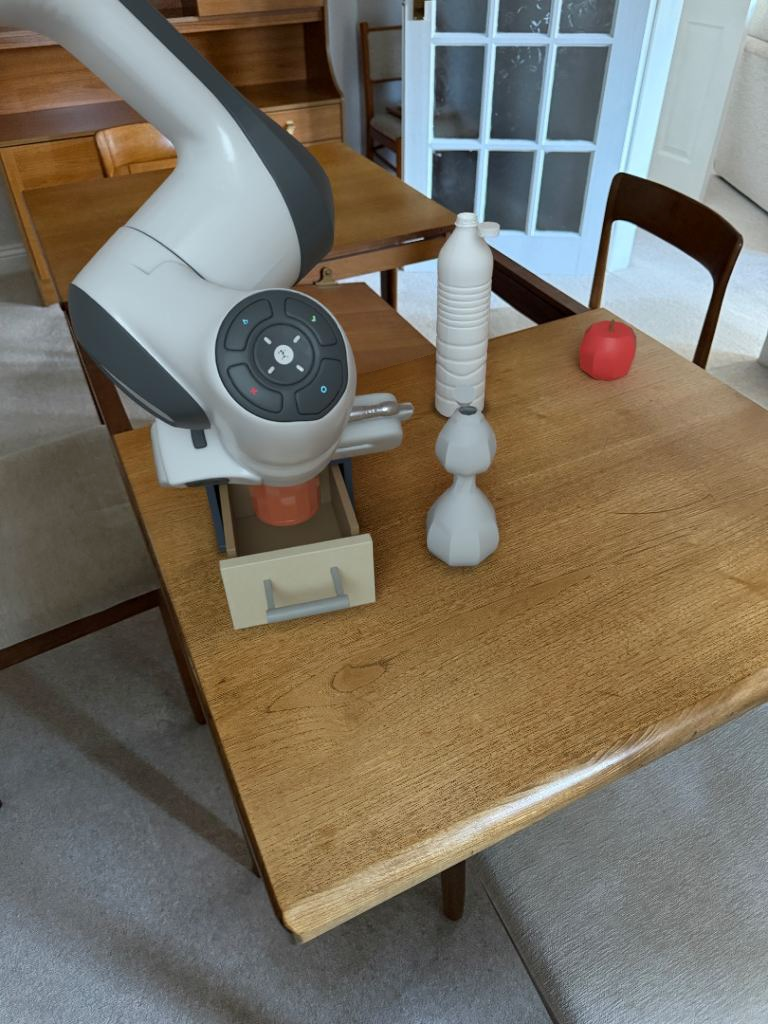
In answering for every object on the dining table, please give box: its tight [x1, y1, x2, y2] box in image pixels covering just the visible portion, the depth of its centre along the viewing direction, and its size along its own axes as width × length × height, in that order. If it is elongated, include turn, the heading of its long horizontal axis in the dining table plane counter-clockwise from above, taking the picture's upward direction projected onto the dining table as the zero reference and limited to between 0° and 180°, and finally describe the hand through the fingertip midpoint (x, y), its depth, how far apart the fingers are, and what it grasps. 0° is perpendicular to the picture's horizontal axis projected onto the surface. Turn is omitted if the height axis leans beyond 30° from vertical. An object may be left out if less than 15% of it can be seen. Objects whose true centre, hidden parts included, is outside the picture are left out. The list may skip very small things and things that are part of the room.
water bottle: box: [434, 212, 501, 418], centre depth 90 cm, size 9×6×25 cm
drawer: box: [218, 464, 377, 631], centre depth 71 cm, size 20×13×8 cm, turn 14°
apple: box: [578, 319, 637, 382], centre depth 102 cm, size 8×8×8 cm
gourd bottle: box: [425, 385, 500, 568], centre depth 70 cm, size 8×8×20 cm
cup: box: [249, 474, 321, 526], centre depth 67 cm, size 6×6×9 cm
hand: (279, 458), depth 67 cm, fingers closed on cup, 6 cm apart
